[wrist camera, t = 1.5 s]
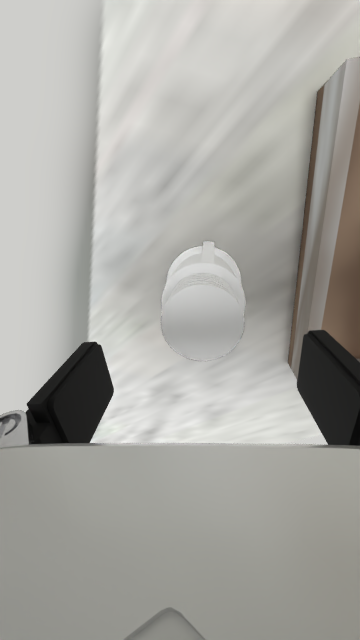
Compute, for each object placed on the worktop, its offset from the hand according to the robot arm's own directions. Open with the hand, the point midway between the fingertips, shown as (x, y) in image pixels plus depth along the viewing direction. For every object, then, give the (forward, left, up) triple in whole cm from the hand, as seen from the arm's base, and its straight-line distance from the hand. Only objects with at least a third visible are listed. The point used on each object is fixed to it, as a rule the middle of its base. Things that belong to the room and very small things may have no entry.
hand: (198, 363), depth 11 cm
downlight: (0, 0, -13) cm, 13 cm away
